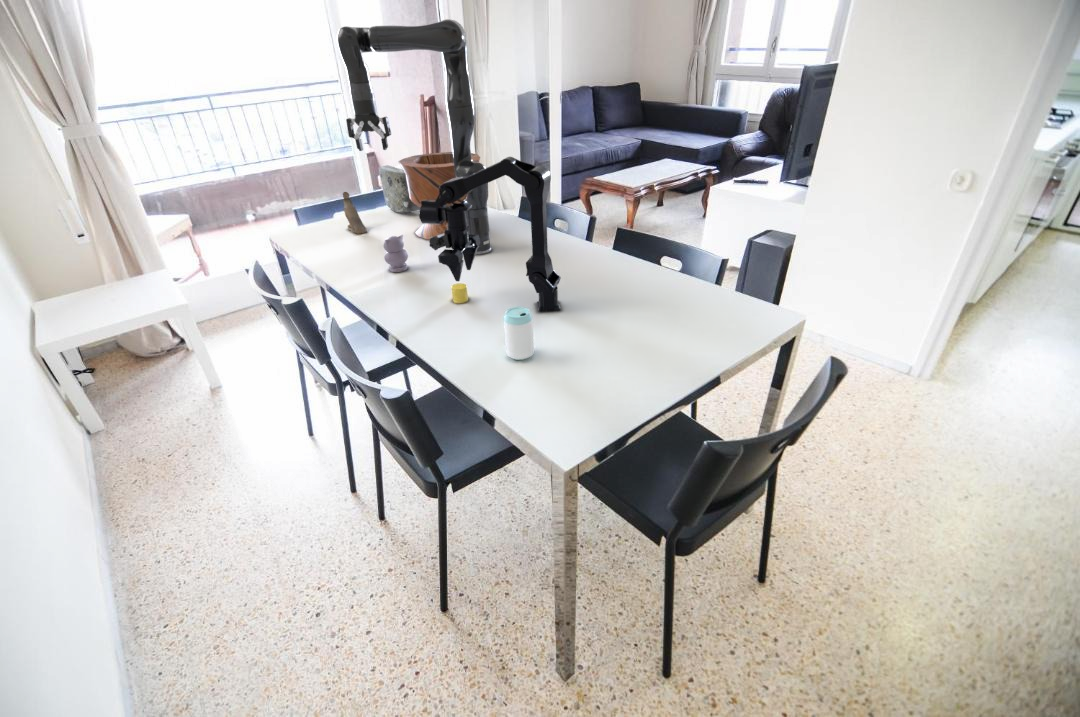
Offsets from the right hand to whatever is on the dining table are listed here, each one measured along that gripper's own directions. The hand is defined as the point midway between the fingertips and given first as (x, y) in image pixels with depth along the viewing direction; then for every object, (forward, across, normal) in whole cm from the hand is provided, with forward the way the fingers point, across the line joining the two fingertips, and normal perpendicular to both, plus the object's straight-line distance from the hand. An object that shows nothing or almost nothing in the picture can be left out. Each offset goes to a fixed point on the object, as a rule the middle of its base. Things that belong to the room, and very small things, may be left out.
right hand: (463, 275), depth 152 cm
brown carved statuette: (+7, -61, -76) cm, 98 cm away
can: (+8, +30, +26) cm, 40 cm away
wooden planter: (+8, -68, -34) cm, 77 cm away
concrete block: (+8, -95, -71) cm, 119 cm away
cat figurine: (+8, -20, -34) cm, 41 cm away
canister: (+8, +1, -2) cm, 8 cm away
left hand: (-31, -34, -44) cm, 63 cm away
